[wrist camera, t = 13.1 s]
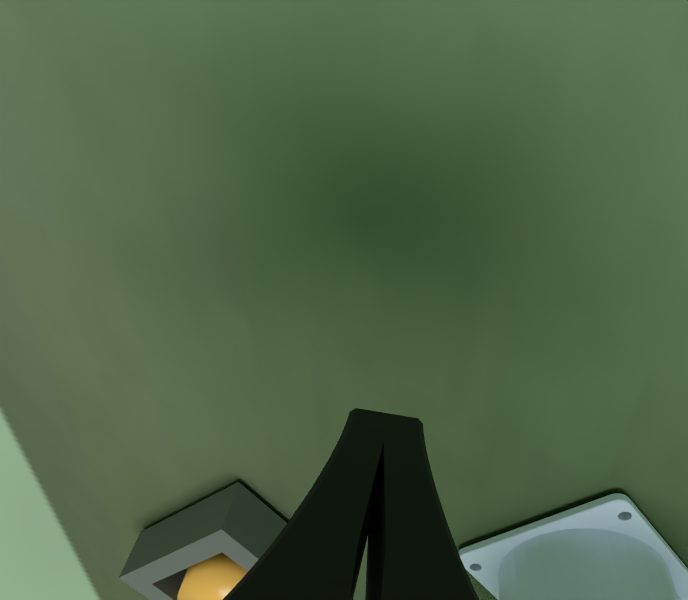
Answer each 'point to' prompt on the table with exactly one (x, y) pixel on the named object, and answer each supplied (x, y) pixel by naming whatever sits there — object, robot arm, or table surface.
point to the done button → (211, 579)
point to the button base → (201, 540)
